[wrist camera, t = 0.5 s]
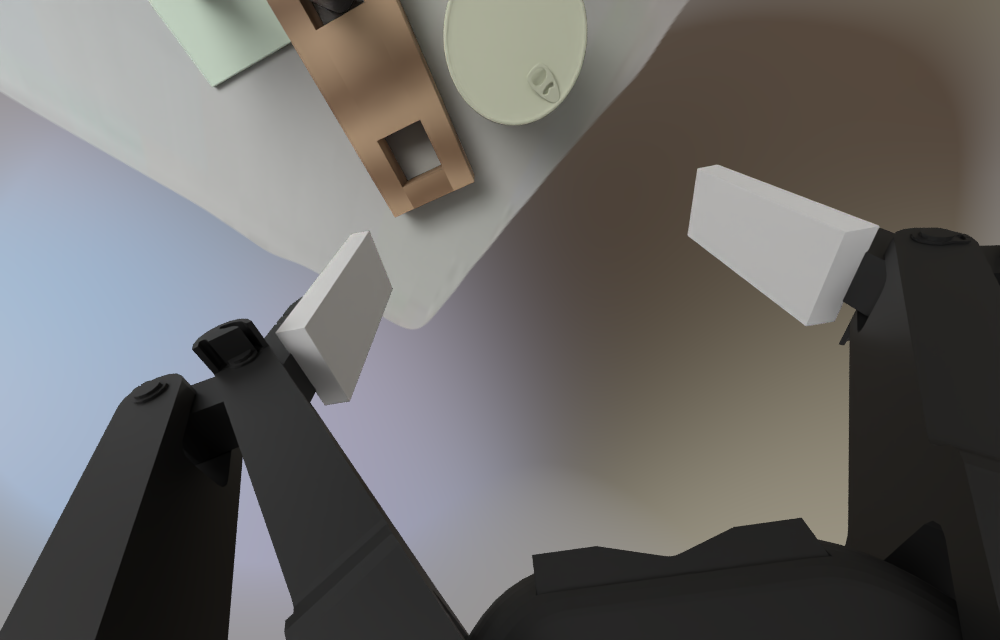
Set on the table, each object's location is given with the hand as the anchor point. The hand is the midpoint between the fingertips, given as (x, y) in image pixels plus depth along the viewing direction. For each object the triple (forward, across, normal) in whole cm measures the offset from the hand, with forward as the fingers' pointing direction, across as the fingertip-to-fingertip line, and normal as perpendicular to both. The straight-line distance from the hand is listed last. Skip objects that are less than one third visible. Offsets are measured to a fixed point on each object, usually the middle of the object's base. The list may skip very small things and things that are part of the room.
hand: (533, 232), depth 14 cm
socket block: (+26, -10, +7) cm, 28 cm away
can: (+26, +2, +6) cm, 27 cm away
